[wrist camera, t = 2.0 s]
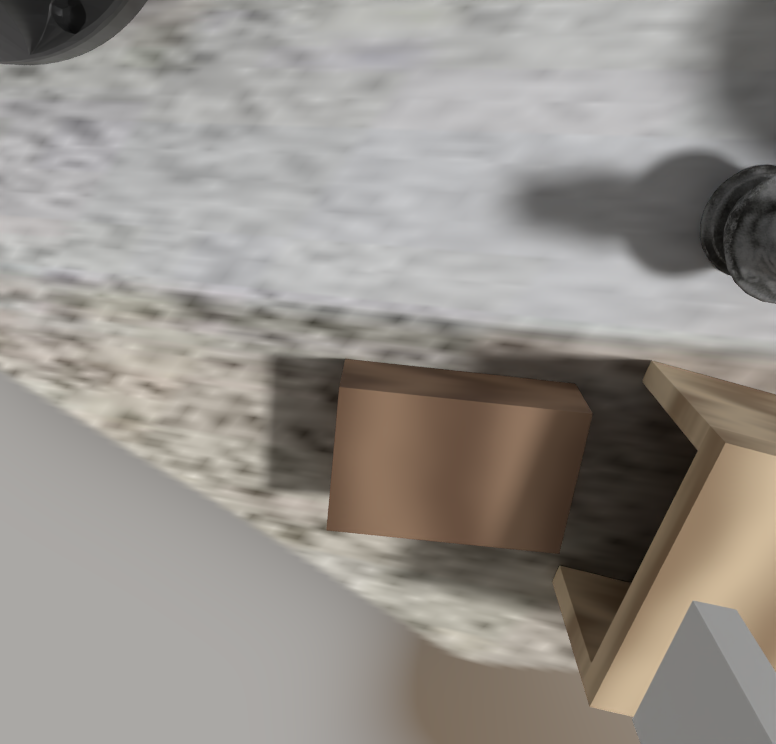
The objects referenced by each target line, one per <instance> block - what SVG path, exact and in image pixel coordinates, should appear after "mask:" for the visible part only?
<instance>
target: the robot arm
mask: <svg viewBox="0 0 776 744" xmlns="http://www.w3.org/2000/svg"><path fill="white" fill-rule="evenodd" d="M146 2H147V0H0V64H15V65H38V64H48V63H55V62H60V61H64V60H68V59H71V58H74V57H77V56H80V55H82V54H84V53H87V52H89V51H91V50H93V49H95V48H97V47H98V46H100V45H102V44H104V43H105V42H106V41H108V40H109V39H111V38H112V37H114V36H115V35H116V34H117V33H118V32H120V31H121V30H122V29H123V28H124V27H125V26H126V25H127V24H128V23H129V22H130V21H131V20H132V19H133V18H134V17H135V16H136V15H137V13H138V12H139V11H140V10H141V8H142V7H143V6H144V4H145V3H146ZM632 721H633V723H634V726H635V729H636V732H637V735H638V737H639V740H640V743H641V744H776V672H775V670H774V669H773V667H772V665H771V664H770V662H769V661H768V659H767V657H766V656H765V654H764V653H763V651H762V649H761V648H760V646H759V645H758V643H757V642H756V640H755V638H754V637H753V635H752V634H751V632H750V630H749V629H748V627H747V626H746V624H745V623H744V621H743V619H742V618H741V616H740V615H739V613H738V611H737V610H736V609H731V608H727V607H722V606H717V605H712V604H708V603H703V602H698V601H694V600H693V601H692V603H691V605H690V607H689V609H688V611H687V613H686V615H685V617H684V619H683V621H682V623H681V624H680V626H679V628H678V630H677V632H676V634H675V636H674V638H673V640H672V642H671V644H670V646H669V648H668V650H667V652H666V654H665V656H664V658H663V660H662V662H661V664H660V666H659V668H658V670H657V672H656V674H655V676H654V678H653V680H652V682H651V684H650V686H649V688H648V690H647V692H646V694H645V696H644V698H643V700H642V702H641V704H640V706H639V707H638V709H637V711H636V713H635V715H634V717H633V720H632Z"/></svg>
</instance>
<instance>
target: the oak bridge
mask: <svg viewBox="0 0 776 744" xmlns="http://www.w3.org/2000/svg"><path fill="white" fill-rule="evenodd" d="M642 382H643V383H644V385H645V386H646V387H647V388H648V390H649V391H650V392H651V393H652V394H653V396H654V397H655V398H656V399H657V401H658V402H659V403H660V404H661V406H662V407H663V408H664V409H665V411H666V412H667V413H668V414H669V416H670V417H671V418H672V419H673V420H674V422H675V423H676V424H677V425H678V427H679V428H680V429H681V430H682V432H683V433H684V434H685V435H686V437H687V438H688V439H689V440H690V441H691V443H692V444H693V445H694V446H695V448H696V449H697V450H698V451H697V453H696V455H695V457H694V459H693V461H692V463H691V465H690V467H689V469H688V471H687V473H686V475H685V477H684V479H683V481H682V483H681V485H680V487H679V489H678V491H677V493H676V495H675V497H674V499H673V501H672V503H671V505H670V507H669V509H668V511H667V513H666V515H665V517H664V519H663V521H662V523H661V525H660V527H659V529H658V531H657V533H656V535H655V537H654V539H653V541H652V543H651V545H650V547H649V549H648V551H647V553H646V555H645V557H644V559H643V561H642V563H641V565H640V567H639V569H638V571H637V573H636V575H635V577H634V579H633V581H632V583H629V582H625V581H621V580H616V579H612V578H608V577H604V576H600V575H596V574H592V573H588V572H584V571H580V570H576V569H572V568H568V567H564V566H560V565H559V568H558V570H557V572H556V574H555V577H554V579H553V581H552V583H553V586H554V589H555V593H556V596H557V599H558V603H559V606H560V609H561V613H562V616H563V619H564V623H565V626H566V630H567V633H568V636H569V640H570V643H571V646H572V650H573V653H574V656H575V660H576V663H577V666H578V670H579V673H580V676H581V679H582V683H583V686H584V689H585V693H586V696H587V700H588V703H589V706H590V707H593V708H597V709H602V710H606V711H610V712H615V713H619V714H624V715H628V716H632V717H634V715H635V713H636V711H637V709H638V707H639V706H640V704H641V702H642V700H643V698H644V696H645V694H646V692H647V690H648V688H649V686H650V684H651V682H652V680H653V678H654V676H655V674H656V672H657V670H658V668H659V666H660V664H661V662H662V660H663V658H664V656H665V654H666V652H667V650H668V648H669V646H670V644H671V642H672V640H673V638H674V636H675V634H676V632H677V630H678V628H679V626H680V624H681V623H682V621H683V619H684V617H685V615H686V613H687V611H688V609H689V607H690V605H691V603H692V601H693V600H694V601H698V602H703V603H708V604H712V605H717V606H722V607H727V608H731V609H736V610H737V611H738V613H739V615H740V616H741V618H742V619H743V621H744V623H745V624H746V626H747V627H748V629H749V630H750V632H751V634H752V635H753V637H754V638H755V640H756V642H757V643H758V645H759V646H760V648H761V649H762V651H763V653H764V654H765V656H766V657H767V659H768V661H769V662H770V664H771V665H772V667H773V669H774V670H775V672H776V395H775V394H772V393H768V392H764V391H761V390H757V389H753V388H750V387H746V386H742V385H739V384H735V383H731V382H728V381H724V380H720V379H717V378H713V377H710V376H706V375H702V374H699V373H695V372H691V371H688V370H684V369H680V368H677V367H673V366H669V365H666V364H662V363H658V362H655V361H651V362H650V365H649V367H648V369H647V371H646V373H645V376H644V378H643V380H642Z"/></svg>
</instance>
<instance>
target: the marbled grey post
mask: <svg viewBox="0 0 776 744" xmlns="http://www.w3.org/2000/svg"><path fill="white" fill-rule="evenodd" d="M700 237H701V242H702V247H703V250H704V252H705V253H706V255H707V257H708V259H709V260H710V261H711V262H712V263H713V264H714V265H715V266H716V267H717V268H718V269H719V270H721V271H723V272H725V273H727V274H729V275H731V276H732V278H733V280H734V282H735V283H736V284H737V285H738V286H739V287H740V288H741V289H742V290H743V291H744V292H745V293H747V294H749V295H750V296H752V297H754V298H756V299H758V300H760V301H764V302H769V303H775V304H776V166H773V165H765V166H755V167H752V168H749V169H746V170H743V171H741V172H739V173H737V174H736V175H734V176H733V177H731V178H729V179H728V180H726V181H725V182H724V183H723V184H722V185H721V186H720V187H719V188H718V189H717V190H716V191H715V192H714V194H713V196H712V197H711V199H710V200H709V202H708V203H707V205H706V208H705V210H704V213H703V216H702V219H701V229H700Z"/></svg>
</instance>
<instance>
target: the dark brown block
mask: <svg viewBox="0 0 776 744" xmlns="http://www.w3.org/2000/svg"><path fill="white" fill-rule="evenodd" d="M592 415H593V413H592V412H591V410H590V408H589V406H588V405H587V403H586V401H585V400H584V398H583V396H582V394H581V393H580V391H579V389H578V387H577V386H576V384H574V383H565V382H556V381H546V380H537V379H528V378H518V377H509V376H500V375H490V374H481V373H472V372H462V371H453V370H444V369H435V368H425V367H416V366H407V365H397V364H388V363H379V362H369V361H360V360H351V359H345V362H344V366H343V371H342V376H341V381H340V386H339V395H338V406H337V417H336V429H335V440H334V451H333V463H332V474H331V485H330V497H329V508H328V519H327V530H328V531H338V532H348V533H358V534H368V535H378V536H387V537H397V538H407V539H417V540H427V541H437V542H447V543H457V544H466V545H476V546H486V547H496V548H506V549H516V550H526V551H536V552H545V553H555V554H559V553H560V549H561V545H562V541H563V536H564V532H565V528H566V524H567V520H568V516H569V511H570V507H571V503H572V499H573V495H574V490H575V486H576V482H577V478H578V474H579V470H580V465H581V461H582V457H583V453H584V449H585V444H586V440H587V436H588V432H589V428H590V424H591V419H592Z"/></svg>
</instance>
